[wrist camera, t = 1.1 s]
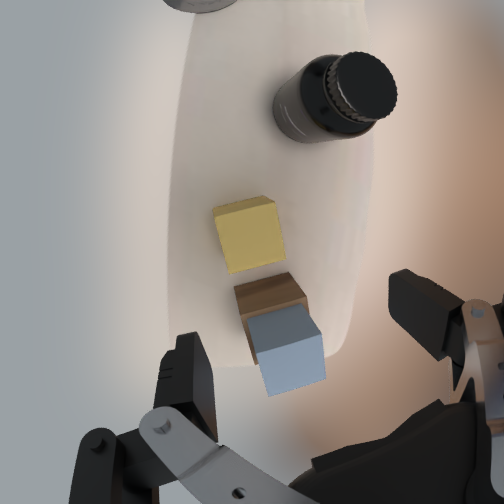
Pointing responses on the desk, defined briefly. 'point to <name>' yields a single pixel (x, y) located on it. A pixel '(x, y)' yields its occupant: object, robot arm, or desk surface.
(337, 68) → the supplement bottle
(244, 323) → the tower base
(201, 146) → the desk surface
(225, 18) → the desk surface
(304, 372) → the tower mid
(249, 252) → the top block
